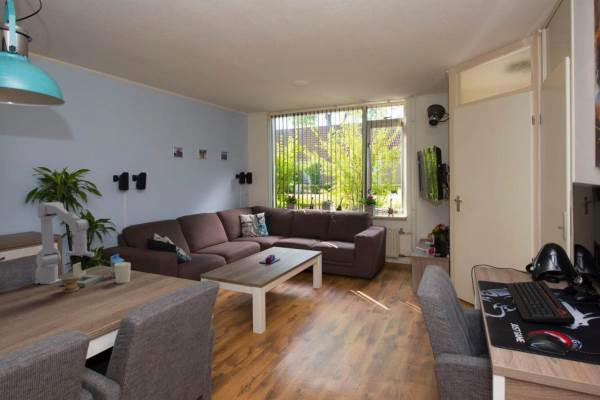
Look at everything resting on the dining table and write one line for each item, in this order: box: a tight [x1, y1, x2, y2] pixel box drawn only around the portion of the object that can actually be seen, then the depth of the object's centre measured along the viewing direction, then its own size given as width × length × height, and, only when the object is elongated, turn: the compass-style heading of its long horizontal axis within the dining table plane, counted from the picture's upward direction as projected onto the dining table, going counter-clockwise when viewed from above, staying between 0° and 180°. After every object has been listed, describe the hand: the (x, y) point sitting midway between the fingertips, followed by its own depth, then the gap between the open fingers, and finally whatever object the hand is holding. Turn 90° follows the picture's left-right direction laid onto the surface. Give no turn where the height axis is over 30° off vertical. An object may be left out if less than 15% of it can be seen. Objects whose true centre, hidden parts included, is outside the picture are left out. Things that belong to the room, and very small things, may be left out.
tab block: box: [72, 262, 87, 277], centre depth 175 cm, size 3×5×6 cm, turn 172°
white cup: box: [115, 261, 131, 284], centre depth 190 cm, size 8×8×10 cm
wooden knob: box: [61, 276, 80, 294], centre depth 175 cm, size 7×7×6 cm
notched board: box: [60, 274, 105, 288], centre depth 188 cm, size 14×14×2 cm
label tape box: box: [110, 253, 126, 279], centre depth 202 cm, size 9×4×12 cm, turn 179°
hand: (80, 269), depth 175 cm, fingers closed on tab block, 3 cm apart
